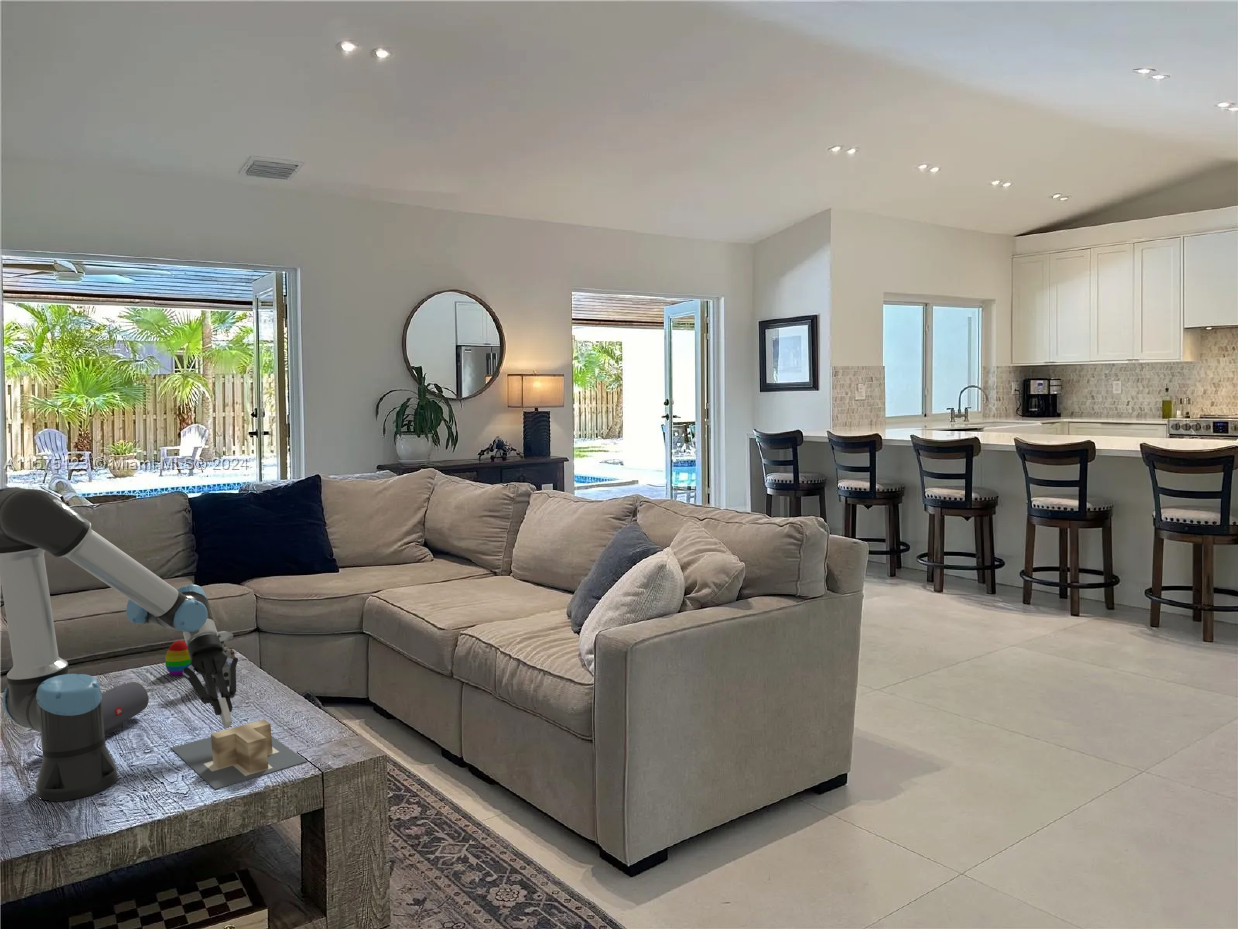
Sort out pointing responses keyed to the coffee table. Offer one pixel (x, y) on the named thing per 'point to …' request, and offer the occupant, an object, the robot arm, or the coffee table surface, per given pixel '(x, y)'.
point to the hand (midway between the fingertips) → (228, 724)
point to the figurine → (224, 637)
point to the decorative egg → (177, 658)
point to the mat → (202, 763)
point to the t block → (243, 746)
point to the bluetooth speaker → (122, 705)
